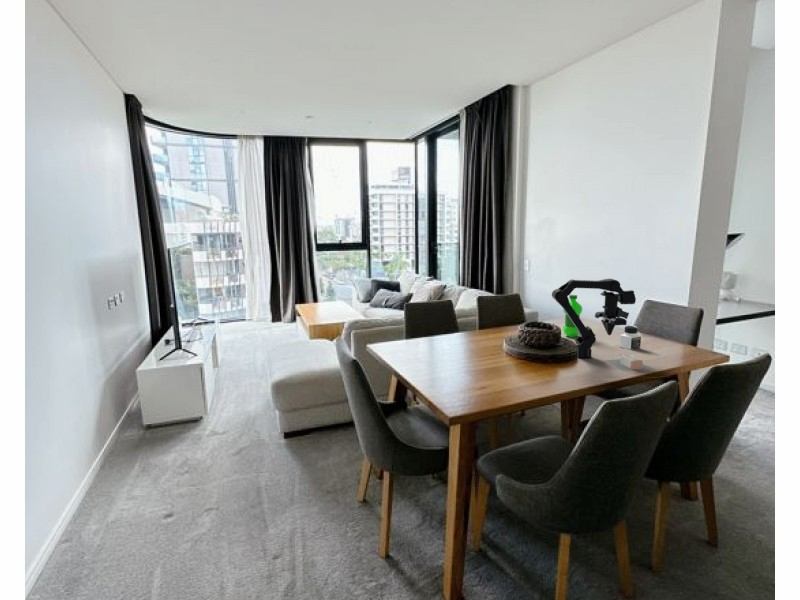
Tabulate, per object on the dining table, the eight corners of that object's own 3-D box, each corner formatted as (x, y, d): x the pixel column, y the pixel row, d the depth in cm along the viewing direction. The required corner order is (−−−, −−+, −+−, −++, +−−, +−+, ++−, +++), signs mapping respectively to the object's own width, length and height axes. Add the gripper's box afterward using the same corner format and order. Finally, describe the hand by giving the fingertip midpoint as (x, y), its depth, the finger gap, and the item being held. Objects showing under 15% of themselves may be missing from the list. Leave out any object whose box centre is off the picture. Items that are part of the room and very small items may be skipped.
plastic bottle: (582, 334, 251) (583, 294, 246) (579, 339, 242) (580, 297, 237) (564, 333, 256) (566, 293, 251) (561, 337, 247) (562, 296, 243)
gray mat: (622, 371, 188) (622, 370, 188) (604, 361, 203) (605, 360, 203) (652, 370, 189) (652, 368, 189) (632, 359, 203) (632, 358, 203)
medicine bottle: (630, 350, 217) (632, 328, 215) (619, 347, 224) (620, 325, 222) (640, 348, 220) (642, 327, 218) (628, 345, 227) (630, 324, 224)
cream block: (620, 363, 198) (631, 369, 189) (620, 355, 197) (632, 361, 188) (630, 362, 198) (642, 369, 189) (630, 354, 197) (642, 360, 188)
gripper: (638, 307, 194) (636, 339, 196) (616, 300, 212) (614, 329, 215) (615, 308, 193) (613, 340, 196) (595, 301, 212) (593, 330, 214)
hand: (609, 335), depth 205 cm, fingers closed
